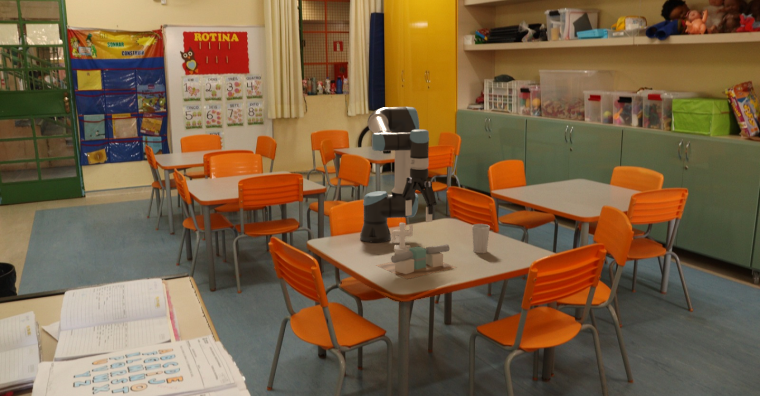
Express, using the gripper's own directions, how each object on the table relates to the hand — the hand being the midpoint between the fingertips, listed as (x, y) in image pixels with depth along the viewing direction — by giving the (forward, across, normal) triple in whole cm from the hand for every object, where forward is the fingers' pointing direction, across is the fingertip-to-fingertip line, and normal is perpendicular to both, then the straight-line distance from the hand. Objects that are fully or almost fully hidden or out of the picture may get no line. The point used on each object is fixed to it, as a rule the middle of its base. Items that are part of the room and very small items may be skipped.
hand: (418, 218), depth 258 cm
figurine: (+22, -19, +6) cm, 30 cm away
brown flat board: (+22, 0, -1) cm, 22 cm away
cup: (+22, -4, +39) cm, 45 cm away
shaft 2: (+21, +2, +9) cm, 23 cm away
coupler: (+21, +1, -1) cm, 21 cm away
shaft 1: (+21, +2, -10) cm, 23 cm away
